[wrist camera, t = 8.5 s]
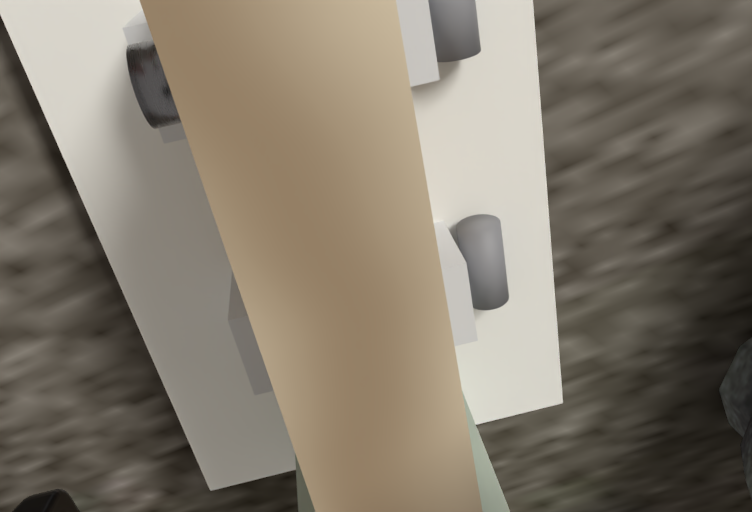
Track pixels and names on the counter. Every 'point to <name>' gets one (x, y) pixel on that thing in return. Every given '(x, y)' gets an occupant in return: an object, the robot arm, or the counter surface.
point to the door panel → (324, 234)
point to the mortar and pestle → (740, 403)
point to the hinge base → (208, 255)
